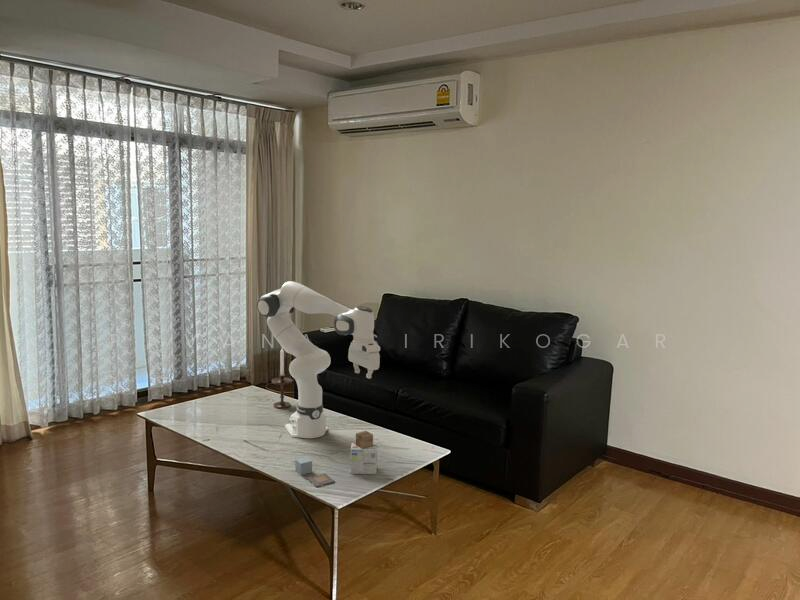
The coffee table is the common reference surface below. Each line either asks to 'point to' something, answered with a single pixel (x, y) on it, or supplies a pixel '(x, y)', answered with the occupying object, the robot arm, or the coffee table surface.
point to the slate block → (303, 465)
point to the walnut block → (364, 439)
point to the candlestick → (282, 383)
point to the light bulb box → (363, 459)
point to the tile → (321, 480)
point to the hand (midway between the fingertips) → (362, 375)
